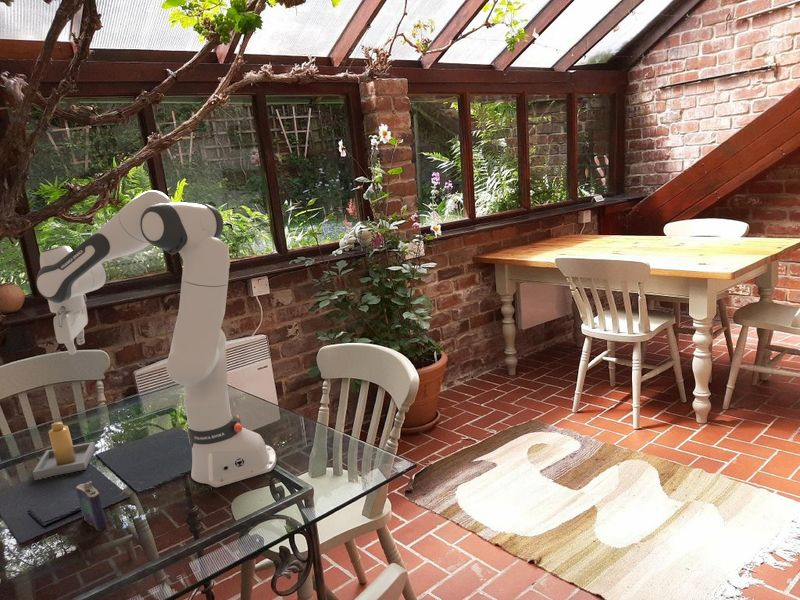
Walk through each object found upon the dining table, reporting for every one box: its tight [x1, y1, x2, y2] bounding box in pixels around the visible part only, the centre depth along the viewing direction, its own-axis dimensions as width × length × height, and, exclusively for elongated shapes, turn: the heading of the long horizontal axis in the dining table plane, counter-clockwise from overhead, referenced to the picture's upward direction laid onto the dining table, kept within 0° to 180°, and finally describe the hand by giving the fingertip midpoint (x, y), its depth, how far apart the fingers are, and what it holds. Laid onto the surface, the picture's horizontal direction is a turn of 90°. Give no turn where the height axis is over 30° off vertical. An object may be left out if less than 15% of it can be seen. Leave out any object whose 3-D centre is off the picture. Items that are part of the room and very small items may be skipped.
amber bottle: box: [48, 421, 76, 466], centre depth 172 cm, size 5×5×12 cm
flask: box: [75, 480, 108, 531], centre depth 143 cm, size 9×3×11 cm, turn 50°
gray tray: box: [32, 441, 97, 481], centre depth 173 cm, size 13×13×2 cm
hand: (77, 348), depth 176 cm, fingers open, 8 cm apart
